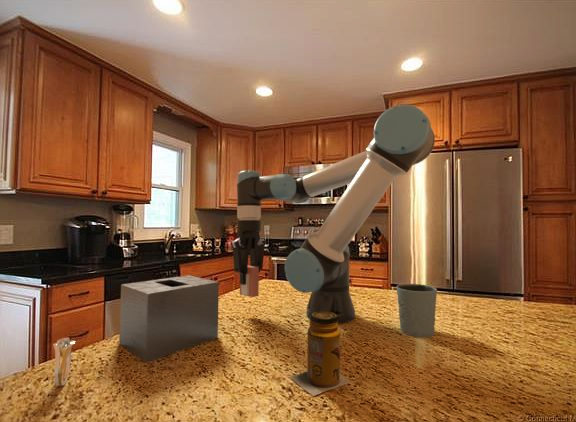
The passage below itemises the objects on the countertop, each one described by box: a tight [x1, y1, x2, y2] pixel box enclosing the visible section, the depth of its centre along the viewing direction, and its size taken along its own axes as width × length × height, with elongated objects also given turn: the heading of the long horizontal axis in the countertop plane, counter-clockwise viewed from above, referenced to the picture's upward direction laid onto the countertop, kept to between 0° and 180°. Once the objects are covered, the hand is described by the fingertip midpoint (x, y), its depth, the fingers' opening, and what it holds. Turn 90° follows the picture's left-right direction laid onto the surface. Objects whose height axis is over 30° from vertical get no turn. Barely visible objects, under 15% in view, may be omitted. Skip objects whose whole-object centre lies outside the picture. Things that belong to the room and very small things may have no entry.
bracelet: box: [53, 337, 76, 387], centre depth 54 cm, size 7×3×8 cm, turn 22°
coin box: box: [118, 274, 220, 363], centre depth 74 cm, size 14×18×14 cm
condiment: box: [289, 311, 350, 397], centre depth 56 cm, size 7×8×12 cm
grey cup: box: [396, 283, 438, 338], centre depth 83 cm, size 10×10×12 cm
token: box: [239, 265, 260, 298], centre depth 96 cm, size 6×2×9 cm, turn 49°
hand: (249, 293), depth 96 cm, fingers closed on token, 2 cm apart
